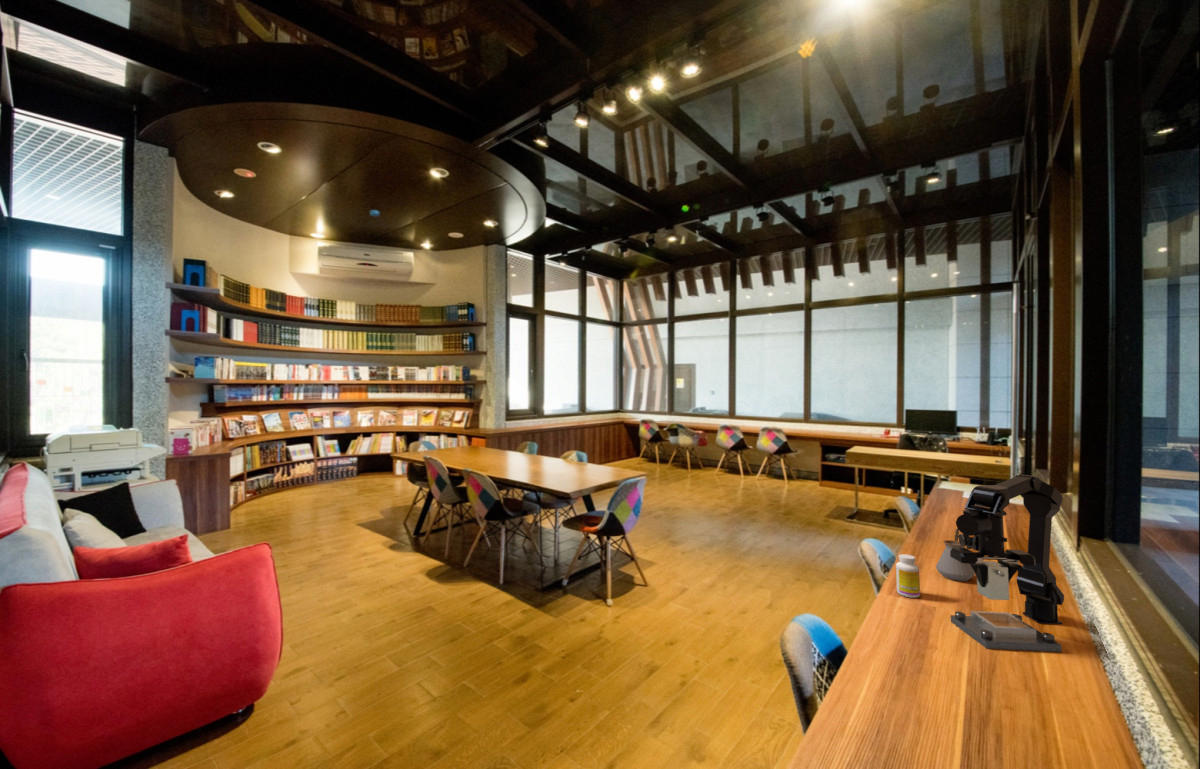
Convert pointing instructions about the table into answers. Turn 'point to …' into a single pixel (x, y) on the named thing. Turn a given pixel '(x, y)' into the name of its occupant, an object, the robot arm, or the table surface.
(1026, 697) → the table surface
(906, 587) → the supplement bottle
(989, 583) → the brushed metal square peg
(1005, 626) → the square hole base plate
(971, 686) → the table surface
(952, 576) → the coffee pot
